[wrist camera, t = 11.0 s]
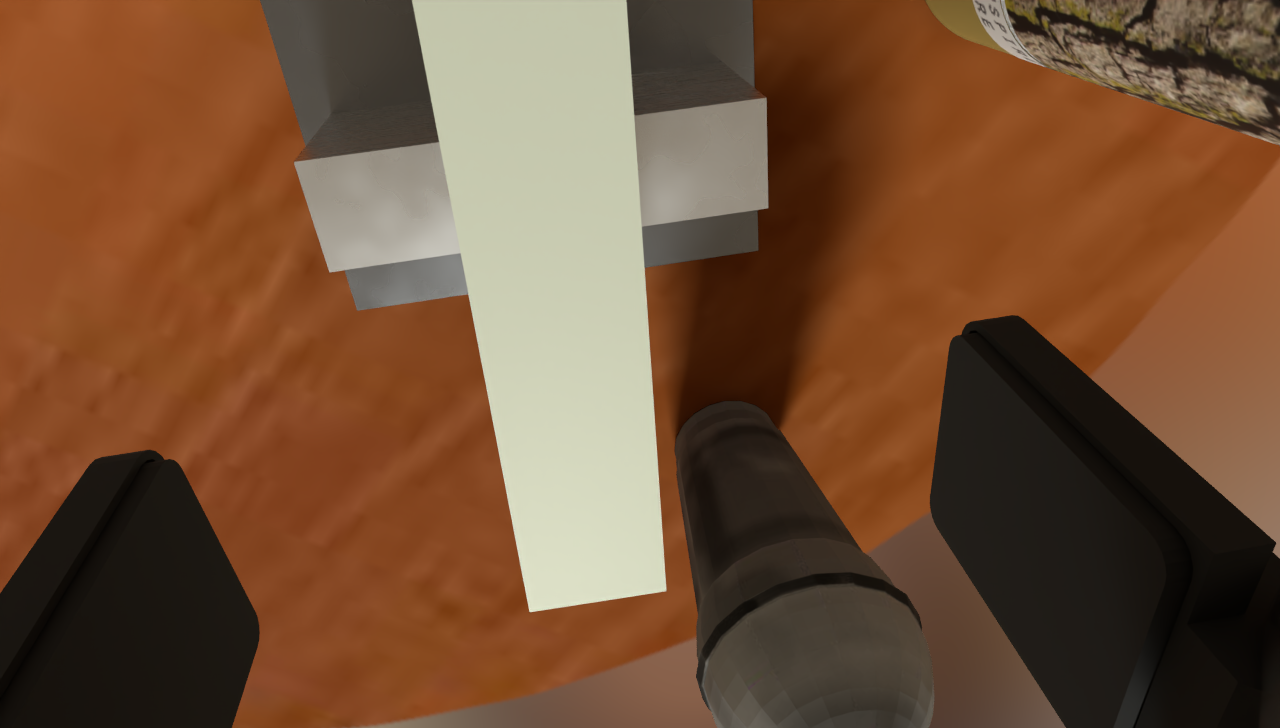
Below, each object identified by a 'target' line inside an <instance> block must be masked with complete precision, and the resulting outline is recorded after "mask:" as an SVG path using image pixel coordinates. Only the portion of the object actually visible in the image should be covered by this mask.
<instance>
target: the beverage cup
mask: <svg viewBox="0 0 1280 728" xmlns="http://www.w3.org/2000/svg"><path fill="white" fill-rule="evenodd" d="M675 455H676V459H677V461H676V463H677V474H676V475H677V481H678V488H679V494H680V501H681V507H682V514H683V520H684V527H685V533H686V540H687V546H688V552H689V559H690V565H691V572H692V578H693V585H694V591H695V598H696V604H697V611H698V620H697V626H696V628H697V657H698V668H697V674H696V678H697V681H698V684H699V688H700V691H701V694H702V698H703V700H704V702H705V704H706V705H707V707H708V708H709V710H711V712H712V715H713V718H714V720H715V723H716V725H717V727H718V728H929V725H930V722H931V719H932V715H933V706H934V686H933V685H934V684H933V672H932V661H931V656H930V652H929V649H928V645H927V642H926V639H925V637H924V635H923V633H922V626H921V621H920V617H919V614H918V612H917V611H916V609H915V608H914V606H913V604H912V603H911V601H910V600H909V598H908V596H907V595H906V594H905V593H903V592H902V591H900V590H899V589H897V588H896V587H895V586H894V585H893V584H892V582H891V580H890V579H889V577H887V575H886V574H885V573H884V572H883V571H882V570H881V569H880V567H879V566H878V565H877V564H876V563H875V562H874V561H873V560H872V559H871V557H869V556H868V555H866V554H865V553H863V552H862V550H861V549H860V547H859V546H858V544H857V543H856V541H855V540H854V538H853V537H852V536H851V534H850V533H849V531H848V530H847V528H846V527H845V525H844V524H843V522H842V521H841V519H840V518H839V516H838V515H837V513H836V512H835V510H834V509H833V508H832V506H831V505H830V503H829V502H828V500H827V499H826V497H825V496H824V494H823V493H822V491H821V490H820V488H819V487H818V485H817V484H816V482H815V481H814V479H813V478H812V477H811V475H810V474H809V472H808V471H807V469H806V468H805V466H804V465H803V463H802V462H801V460H800V459H799V457H798V456H797V454H796V453H795V451H794V450H793V449H792V447H791V446H790V444H789V443H788V441H787V440H786V438H785V437H784V435H783V434H782V432H781V431H780V430H778V429H777V428H776V426H775V425H774V424H773V422H772V421H771V419H770V418H769V416H768V415H767V413H765V412H764V411H763V410H761V409H760V408H758V407H757V406H756V405H753V404H749V403H746V402H742V401H723V402H720V403H716V404H713V405H709V406H707V407H705V408H704V409H702V410H700V411H698V412H697V413H695V414H694V415H693V416H692V417H691V418H690V419H689V420H688V421H687V422H686V423H685V424H684V425H683V426H682V428H681V430H680V432H679V434H678V436H677V438H676V444H675Z"/></svg>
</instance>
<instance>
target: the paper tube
mask: <svg viewBox="0 0 1280 728" xmlns="http://www.w3.org/2000/svg"><path fill="white" fill-rule="evenodd" d="M925 1H926V3H927V5H928V7H929V8H930V10H931V11H932V13H933V14H934V15H935V17H936V18H937V19H938V20H939V21H940V22H941V23H942V24H943V25H944V26H945V27H946V28H948V29H949V30H950V31H952V32H953V33H955V34H956V35H958V36H960V37H962V38H964V39H966V40H969V41H972V42H975V43H978V44H981V45H984V46H987V47H990V48H993V49H996V50H999V51H1002V52H1005V53H1008V54H1011V55H1014V56H1016V57H1018V58H1020V59H1023V60H1026V61H1029V62H1032V63H1035V64H1038V65H1041V66H1044V67H1047V68H1050V69H1053V70H1056V71H1059V72H1062V73H1065V74H1068V75H1071V76H1074V77H1077V78H1080V79H1083V80H1086V81H1089V82H1092V83H1095V84H1098V85H1101V86H1104V87H1107V88H1110V89H1113V90H1116V91H1119V92H1121V93H1124V94H1127V95H1130V96H1133V97H1136V98H1139V99H1142V100H1145V101H1148V102H1151V103H1154V104H1157V105H1160V106H1163V107H1166V108H1169V109H1172V110H1175V111H1178V112H1181V113H1184V114H1187V115H1190V116H1193V117H1196V118H1199V119H1202V120H1205V121H1208V122H1211V123H1214V124H1217V125H1220V126H1223V127H1226V128H1229V129H1232V130H1235V131H1238V132H1241V133H1244V134H1247V135H1250V136H1253V137H1256V138H1259V139H1262V140H1265V141H1268V142H1271V143H1274V144H1277V145H1280V0H925Z"/></svg>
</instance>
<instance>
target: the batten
mask: <svg viewBox="0 0 1280 728" xmlns="http://www.w3.org/2000/svg"><path fill="white" fill-rule="evenodd" d="M412 3H413V8H414V13H415V19H416V24H417V29H418V34H419V39H420V45H421V50H422V55H423V60H424V65H425V71H426V76H427V81H428V86H429V91H430V97H431V102H432V107H433V112H434V117H435V123H436V128H437V133H438V138H439V143H440V149H441V154H442V159H443V164H444V169H445V175H446V180H447V185H448V190H449V195H450V201H451V206H452V211H453V216H454V221H455V227H456V232H457V237H458V242H459V247H460V253H461V258H462V263H463V268H464V273H465V279H466V284H467V289H468V294H469V299H470V305H471V310H472V315H473V320H474V325H475V331H476V336H477V341H478V346H479V351H480V357H481V362H482V367H483V372H484V377H485V383H486V388H487V393H488V398H489V403H490V409H491V414H492V419H493V424H494V429H495V435H496V440H497V445H498V450H499V455H500V461H501V466H502V471H503V476H504V481H505V487H506V492H507V497H508V502H509V507H510V513H511V518H512V523H513V528H514V533H515V539H516V544H517V549H518V554H519V559H520V565H521V570H522V575H523V580H524V585H525V591H526V596H527V601H528V606H529V611H530V612H534V611H540V610H547V609H553V608H560V607H566V606H573V605H579V604H586V603H592V602H599V601H605V600H611V599H618V598H624V597H631V596H637V595H644V594H650V593H657V592H663V591H666V580H665V565H664V550H663V535H662V521H661V506H660V491H659V476H658V461H657V446H656V432H655V417H654V402H653V387H652V372H651V358H650V343H649V328H648V313H647V298H646V283H645V269H644V254H643V239H642V224H641V209H640V195H639V180H638V165H637V150H636V135H635V120H634V106H633V91H632V76H631V61H630V46H629V32H628V17H627V2H626V0H412Z"/></svg>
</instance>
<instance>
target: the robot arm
mask: <svg viewBox="0 0 1280 728" xmlns="http://www.w3.org/2000/svg"><path fill="white" fill-rule="evenodd" d="M930 508H931V513H932V517H933V520H934V523H935V525H936V527H937V528H938V530H939V531H940V533H941V535H942V536H943V538H944V539H945V541H946V542H947V544H948V545H949V547H950V549H951V550H952V552H953V553H954V555H955V556H956V558H957V559H958V561H959V563H960V564H961V566H962V567H963V569H964V570H965V572H966V574H967V575H968V577H969V578H970V579H971V581H972V583H973V584H974V586H975V587H976V589H977V590H978V592H979V594H980V595H981V597H982V598H983V600H984V601H985V603H986V604H987V606H988V608H989V609H990V610H991V612H992V614H993V615H994V617H995V618H996V620H997V622H998V623H999V625H1000V626H1001V627H1002V629H1003V631H1004V632H1005V634H1006V635H1007V637H1008V639H1009V640H1010V642H1011V643H1012V645H1013V646H1014V648H1015V649H1016V651H1017V652H1018V654H1019V656H1020V657H1021V659H1022V660H1023V662H1024V663H1025V665H1026V666H1027V668H1028V670H1029V671H1030V672H1031V674H1032V676H1033V677H1034V679H1035V680H1036V682H1037V683H1038V685H1039V686H1040V688H1041V690H1042V691H1043V693H1044V694H1045V696H1046V697H1047V699H1048V700H1049V702H1050V703H1051V705H1052V707H1053V708H1054V710H1055V711H1056V713H1057V714H1058V716H1059V718H1060V719H1061V721H1062V722H1063V723H1064V725H1065V727H1066V728H1280V559H1279V558H1278V557H1277V556H1276V555H1275V554H1274V553H1273V550H1274V547H1275V545H1276V542H1275V541H1274V540H1273V539H1271V538H1270V537H1269V536H1268V535H1267V534H1266V533H1265V532H1263V531H1262V530H1261V529H1260V528H1259V527H1258V526H1257V525H1256V524H1254V523H1253V522H1252V521H1251V520H1250V519H1249V518H1248V517H1247V516H1245V515H1244V514H1243V513H1242V512H1241V511H1240V510H1238V508H1236V507H1235V506H1234V505H1233V504H1232V503H1231V502H1229V501H1228V500H1227V499H1226V498H1225V497H1224V496H1223V495H1222V494H1221V493H1219V492H1218V491H1217V490H1216V489H1215V488H1214V487H1212V485H1210V484H1209V483H1208V482H1207V481H1206V480H1205V479H1204V478H1202V477H1201V476H1200V475H1199V474H1198V473H1197V472H1196V471H1195V470H1193V469H1192V468H1191V467H1190V466H1189V465H1188V464H1187V463H1186V462H1184V461H1183V460H1182V459H1181V458H1180V457H1179V456H1178V455H1176V454H1175V453H1174V452H1173V451H1172V450H1171V449H1170V448H1169V447H1167V446H1166V445H1165V444H1164V443H1163V442H1162V441H1161V440H1159V439H1158V438H1157V437H1156V436H1155V435H1154V434H1153V433H1152V432H1150V431H1149V430H1148V429H1147V428H1146V427H1145V426H1144V425H1143V424H1141V423H1140V422H1139V421H1138V420H1137V419H1136V418H1135V417H1133V416H1132V415H1131V414H1130V413H1129V412H1128V411H1127V410H1125V409H1124V408H1123V407H1122V406H1121V405H1120V404H1119V403H1118V402H1116V401H1115V400H1114V399H1113V398H1112V397H1111V396H1110V395H1109V394H1108V393H1106V392H1105V391H1104V390H1103V389H1102V388H1101V387H1100V386H1098V385H1097V384H1096V383H1095V382H1094V381H1093V380H1092V379H1091V378H1089V377H1088V376H1087V375H1086V374H1085V373H1084V372H1083V371H1082V370H1080V369H1079V368H1078V367H1077V366H1076V365H1075V364H1074V363H1072V362H1071V361H1070V360H1069V359H1068V358H1067V357H1066V356H1065V355H1063V354H1062V353H1061V352H1060V351H1059V350H1058V349H1057V348H1056V347H1054V346H1053V345H1052V344H1051V343H1050V342H1049V341H1048V340H1046V339H1045V338H1044V337H1043V336H1042V335H1041V334H1040V333H1039V332H1037V331H1036V330H1035V329H1034V328H1033V327H1032V326H1031V325H1030V324H1028V323H1027V322H1026V321H1025V320H1024V319H1022V318H1021V317H1019V316H1014V315H1011V316H1005V317H998V318H992V319H985V320H979V321H973V322H970V323H968V324H966V326H965V327H964V329H963V331H962V335H958V336H955V337H954V338H953V339H952V341H951V343H950V347H949V354H948V361H947V369H946V377H945V385H944V393H943V401H942V408H941V416H940V424H939V432H938V440H937V447H936V455H935V463H934V471H933V479H932V487H931V494H930ZM258 642H259V622H258V618H257V615H256V612H255V610H254V608H253V606H252V605H251V603H250V601H249V599H248V597H247V595H246V593H245V591H244V589H243V587H242V585H241V583H240V581H239V579H238V577H237V575H236V573H235V571H234V569H233V567H232V566H231V564H230V562H229V560H228V558H227V556H226V554H225V552H224V550H223V548H222V546H221V544H220V542H219V540H218V538H217V536H216V534H215V532H214V530H213V528H212V526H211V525H210V523H209V521H208V519H207V517H206V515H205V513H204V511H203V509H202V507H201V505H200V503H199V501H198V499H197V497H196V495H195V493H194V491H193V489H192V487H191V486H190V484H189V482H188V480H187V478H186V476H185V474H184V472H183V470H182V468H181V467H180V465H179V464H178V463H177V462H176V461H174V460H171V459H168V460H164V459H163V457H162V456H161V455H160V454H159V453H157V452H156V451H152V450H145V451H139V452H132V453H126V454H119V455H113V456H107V457H101V458H98V459H95V460H94V461H93V462H92V463H91V464H90V465H89V466H88V468H87V469H86V471H85V472H84V474H83V475H82V477H81V478H80V479H79V481H78V482H77V484H76V485H75V487H74V488H73V490H72V491H71V492H70V494H69V495H68V497H67V498H66V500H65V501H64V503H63V504H62V505H61V507H60V508H59V510H58V511H57V513H56V514H55V515H54V517H53V518H52V520H51V521H50V523H49V524H48V526H47V527H46V528H45V530H44V531H43V533H42V534H41V536H40V537H39V539H38V540H37V541H36V543H35V544H34V546H33V547H32V549H31V550H30V551H29V553H28V554H27V556H26V557H25V559H24V560H23V562H22V563H21V564H20V566H19V567H18V569H17V570H16V572H15V573H14V575H13V576H12V577H11V579H10V580H9V582H8V583H7V585H6V586H5V588H4V589H3V590H2V592H1V593H0V728H232V725H233V722H234V719H235V716H236V713H237V710H238V706H239V703H240V700H241V697H242V694H243V691H244V688H245V684H246V681H247V678H248V675H249V672H250V669H251V666H252V663H253V659H254V656H255V653H256V650H257V647H258Z"/></svg>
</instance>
